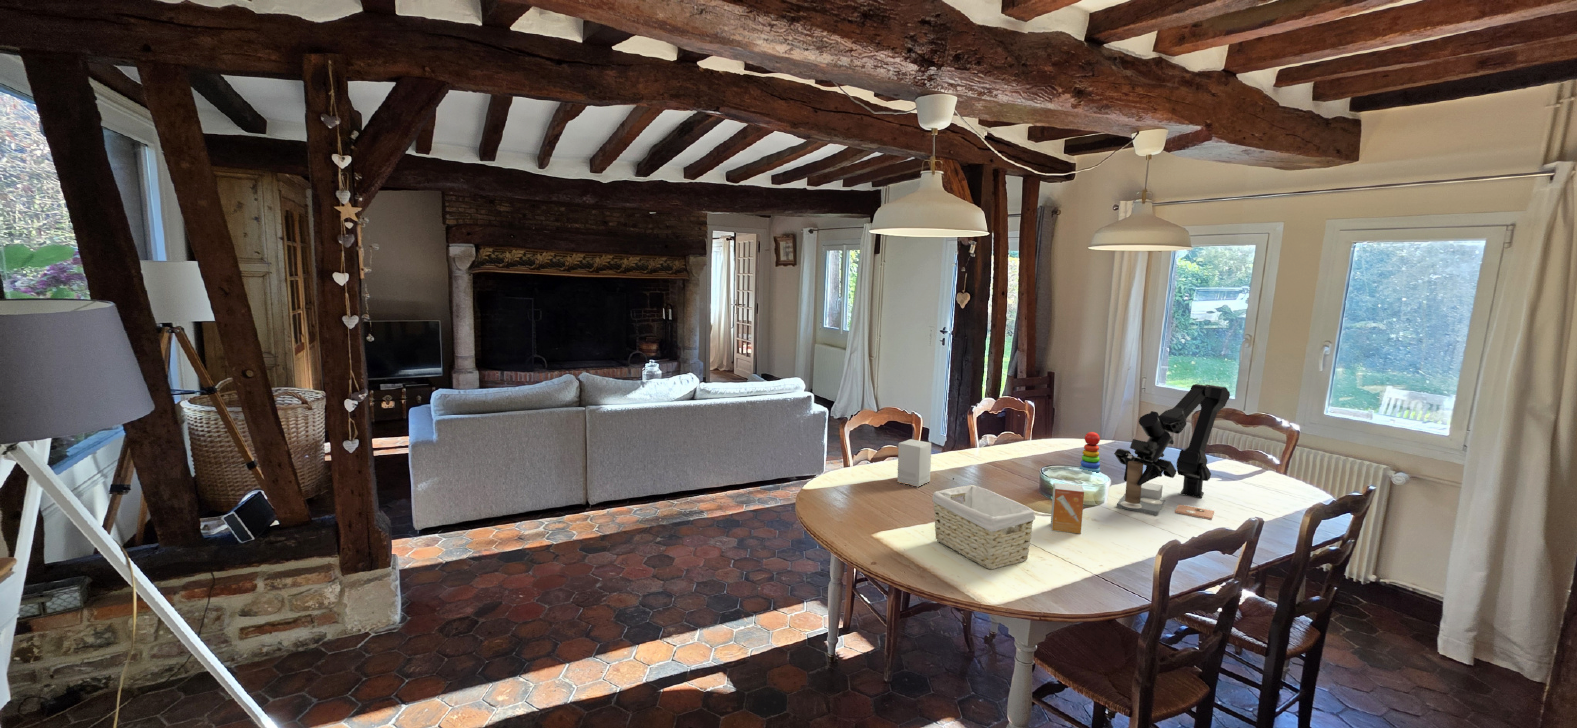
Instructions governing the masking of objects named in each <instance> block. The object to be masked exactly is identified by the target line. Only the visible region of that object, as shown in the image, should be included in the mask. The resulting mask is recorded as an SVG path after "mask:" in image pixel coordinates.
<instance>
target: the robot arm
mask: <svg viewBox="0 0 1577 728" xmlns="http://www.w3.org/2000/svg"><path fill="white" fill-rule="evenodd" d="M1230 396H1231V394H1230V391H1229V390H1228V388H1227V387H1225V386H1221V385H1220V386H1219V385H1214V384H1213V385H1212V384H1199V383H1195V384H1193V385H1192V386H1190V390H1189V391H1188V392H1187V393H1186V394H1184V396H1183V397H1182V398H1181V399H1180V400H1179V402H1177V404H1176V405H1175V406H1174V407H1173V408H1170V409H1166V410H1165V411H1163V412H1162V413H1161V414H1160V413H1158V412H1157V411H1153V410H1151V411H1150V413H1146V414H1144V415H1142V416H1140V417H1139V420H1138V424H1139V425H1140V427H1141V429H1142V431H1143V432H1144V434H1145V435H1146V436H1147V437H1148V439H1147V441H1146V440H1145V441H1144V440H1140V439H1135V438H1132V441H1131V444H1130V445H1129V448H1130V449H1132V450H1134V454H1135V455H1136V456H1134V455H1133V454H1132V453H1131V451H1130V450H1128V449H1124V448H1117V449H1116V450H1115V452H1114V453H1113V454H1114V456H1115V457H1116V459H1117V461H1118V462H1119V463H1120V464H1122V465H1125V469H1124V477H1123V481H1124V482H1126V481H1127V469H1128V461H1137V462H1141V463H1143V466H1145V470H1143V474H1142V476H1141V477H1140V479H1139V481H1138V483H1137V484H1138V485H1139V486H1140V485H1142V484H1144V483H1146V482H1147V483H1148V482H1149V481H1151V480H1155V479H1157V478H1158V477H1159V478H1161V477H1163V476H1164V477H1168V478H1172V479H1173V478H1175V476H1176V475H1179V476H1183V485H1182V489H1181V491H1180V492H1179V494H1180V495H1183V496H1188V497H1194V498H1199V499H1201V498H1203V496H1204V493H1205V492H1204V491H1203V484H1204V481H1205V482H1208V481H1209V480H1210V479H1211V475H1212V472H1211V471H1210V469H1209V468H1208V466H1207V464H1208V457H1207V455H1206V449H1207V445H1208V443H1209V440H1210V436H1211V433H1212V429H1213V427H1214V424H1215V420H1216V417H1217V414H1218V413H1219V412H1220V411H1221V410H1222V409H1223V408H1225V407H1226V405H1227V402H1228V400H1229V399H1230ZM1199 405H1200V411H1199V414H1198V416H1197V417H1198V418H1197V420H1196V423H1195V426H1194V429H1193V431H1192V436H1191V439H1190V442H1189V445H1188V447H1187V448H1185V449H1180V451H1179V455H1178V456H1177V460H1176V468H1175V467H1174V465H1173V463H1172V461H1170V460H1166V459H1163V458H1164V456H1165V454H1164V451H1165V450H1166V449H1167V447H1168V445H1174V444H1175V443H1174V439H1173V435H1171V434H1177V435H1179V434H1180V433H1182V431H1183V430H1184V429H1185V427H1186V425H1187V418H1189V416H1190V415H1191V414H1192V413H1193V412H1194V410H1195V409H1196V408H1197V407H1198V406H1199ZM1159 414H1160V415H1159ZM1170 433H1171V434H1170Z"/></svg>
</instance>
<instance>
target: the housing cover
mask: <svg viewBox="0 0 1577 728" xmlns="http://www.w3.org/2000/svg"><path fill="white" fill-rule="evenodd" d="M1162 496H1163V485H1162V484H1158V483H1152V482H1148V481H1147V482H1146V483H1144V484H1142V486H1141V497H1145V498H1153V499H1157V500H1161V499H1162Z"/></svg>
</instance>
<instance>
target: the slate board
mask: <svg viewBox="0 0 1577 728" xmlns="http://www.w3.org/2000/svg"><path fill="white" fill-rule="evenodd" d="M1164 505H1165V500H1161V499H1160V500H1157V499H1153V498H1145V497H1140V503H1139V504H1132V503H1128V502H1126V501H1125V493H1124V494H1123V496H1122V497H1121V498H1120V499H1119V500H1118V501H1117V502H1116V508H1118V509H1124V510H1129V511H1132V512H1133V511H1134V512H1137V513H1144V514H1149V515H1153V516H1159V515H1160V513H1161V510H1162V509H1163V507H1164Z"/></svg>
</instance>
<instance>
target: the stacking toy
mask: <svg viewBox="0 0 1577 728" xmlns="http://www.w3.org/2000/svg"><path fill="white" fill-rule="evenodd" d="M1100 440H1101V437H1100V435H1099V434H1098V433H1097V432H1095V431H1090V432H1089V431H1088V432H1087V433H1086V434H1085V435H1084V441H1085V444H1084V446H1083V448H1084V450H1082V454H1083V455H1081V459H1082V460H1081V461H1080V466H1079V470H1080V469H1083V470H1088V471H1092V472H1096V473H1100V472H1101V468H1100V466H1101V463H1100V456H1099V455H1100V452H1099V450H1100V446H1099V443H1100Z"/></svg>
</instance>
